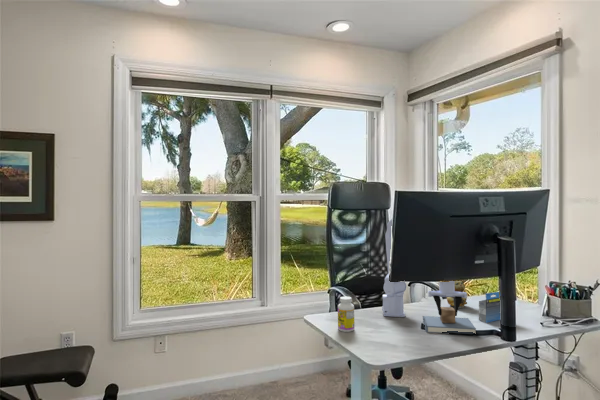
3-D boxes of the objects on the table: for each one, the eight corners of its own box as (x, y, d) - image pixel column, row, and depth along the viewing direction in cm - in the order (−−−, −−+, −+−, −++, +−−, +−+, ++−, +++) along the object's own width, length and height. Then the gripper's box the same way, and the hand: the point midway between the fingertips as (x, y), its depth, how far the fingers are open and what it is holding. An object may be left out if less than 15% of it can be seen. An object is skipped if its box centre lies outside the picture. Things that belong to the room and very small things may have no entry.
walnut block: (442, 322, 147) (441, 310, 147) (440, 319, 152) (439, 306, 152) (455, 323, 146) (455, 310, 146) (453, 319, 151) (452, 307, 151)
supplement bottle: (335, 328, 150) (334, 296, 151) (349, 326, 153) (349, 295, 153) (342, 333, 144) (342, 300, 144) (357, 331, 146) (357, 298, 147)
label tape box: (493, 317, 161) (492, 289, 161) (501, 320, 157) (500, 291, 157) (478, 320, 157) (477, 291, 157) (486, 323, 153) (486, 293, 153)
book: (426, 332, 144) (426, 325, 144) (422, 322, 157) (422, 315, 157) (475, 335, 140) (475, 328, 140) (468, 324, 153) (468, 318, 153)
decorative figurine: (456, 310, 173) (455, 278, 173) (442, 305, 180) (441, 275, 180) (469, 306, 177) (469, 275, 178) (455, 303, 185) (454, 273, 185)
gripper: (429, 282, 146) (429, 316, 146) (468, 283, 143) (469, 318, 143) (427, 279, 153) (427, 311, 153) (464, 280, 150) (465, 313, 150)
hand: (447, 314), depth 148 cm, fingers open, 5 cm apart
